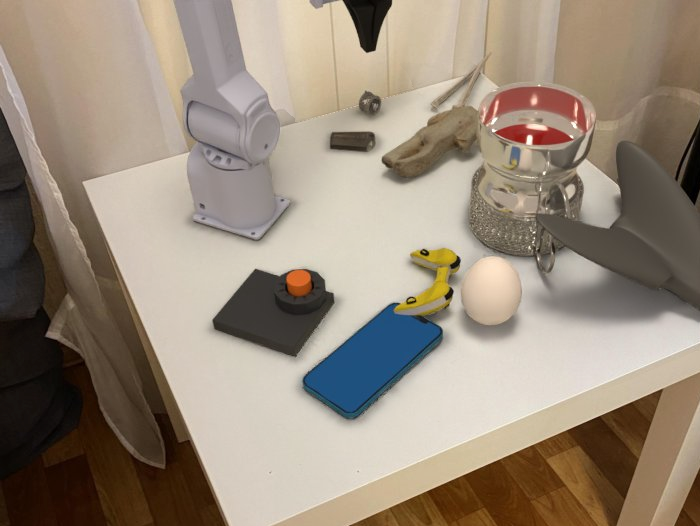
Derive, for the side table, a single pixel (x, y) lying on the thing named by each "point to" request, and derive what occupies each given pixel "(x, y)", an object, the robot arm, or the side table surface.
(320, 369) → the smartphone
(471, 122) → the sculpture
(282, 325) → the push button box
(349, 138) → the block
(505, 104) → the silver candle holder
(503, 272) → the egg
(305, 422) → the side table surface
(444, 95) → the tweezers
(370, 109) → the decorative ring
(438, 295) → the yellow curved piece
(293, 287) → the button
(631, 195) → the propeller
